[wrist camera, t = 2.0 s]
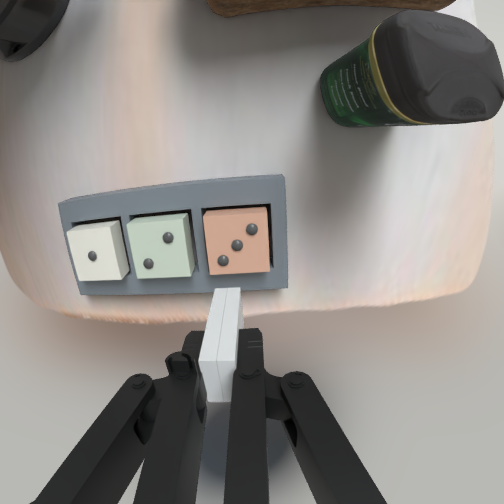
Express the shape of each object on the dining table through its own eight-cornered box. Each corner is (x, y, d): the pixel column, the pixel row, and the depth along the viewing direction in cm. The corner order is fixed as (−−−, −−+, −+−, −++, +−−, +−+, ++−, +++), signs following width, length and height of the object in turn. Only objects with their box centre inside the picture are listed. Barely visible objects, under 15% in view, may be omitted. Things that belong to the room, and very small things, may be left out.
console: (90, 284, 36) (80, 295, 33) (70, 198, 31) (57, 203, 29) (285, 276, 35) (288, 288, 32) (281, 174, 31) (285, 177, 28)
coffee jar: (329, 134, 29) (420, 129, 12) (311, 66, 26) (378, -9, 9) (404, 123, 28) (523, 125, 11) (389, 60, 26) (494, 15, 8)
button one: (88, 272, 32) (78, 281, 30) (77, 225, 30) (65, 232, 28) (129, 270, 32) (120, 280, 30) (119, 220, 30) (109, 227, 27)
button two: (144, 269, 32) (136, 279, 30) (135, 218, 30) (125, 225, 27) (195, 266, 32) (190, 277, 29) (187, 213, 30) (182, 219, 27)
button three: (213, 265, 32) (209, 275, 29) (206, 210, 30) (202, 217, 27) (268, 261, 32) (270, 272, 29) (265, 206, 30) (267, 212, 27)
